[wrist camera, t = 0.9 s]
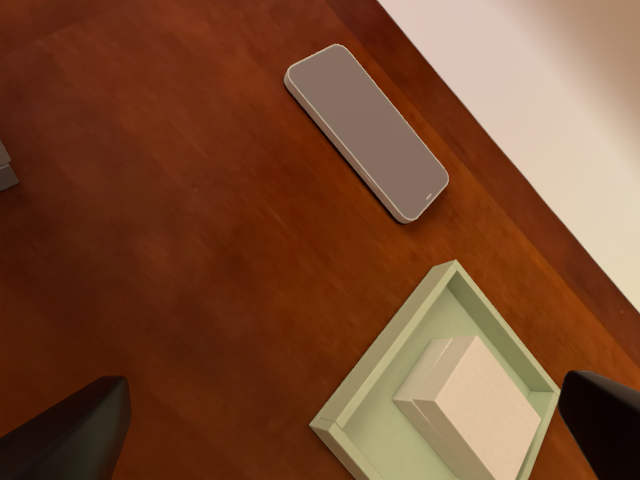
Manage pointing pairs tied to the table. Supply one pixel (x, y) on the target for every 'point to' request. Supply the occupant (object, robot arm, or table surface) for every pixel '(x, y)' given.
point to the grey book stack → (6, 170)
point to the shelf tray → (396, 363)
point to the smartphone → (367, 131)
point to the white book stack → (468, 409)
